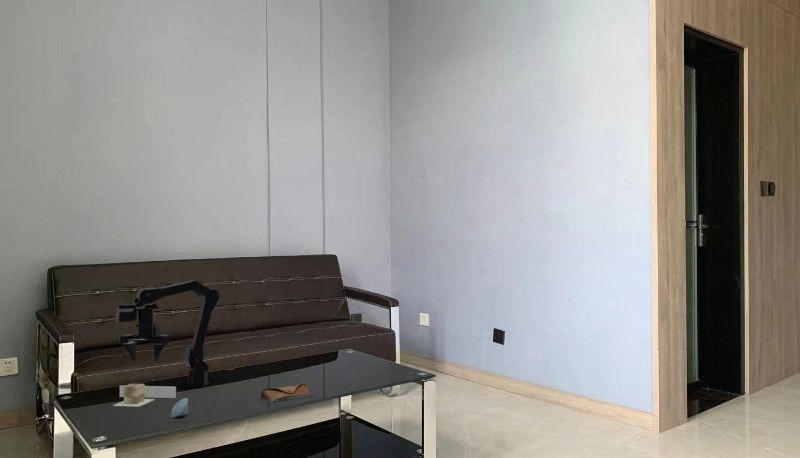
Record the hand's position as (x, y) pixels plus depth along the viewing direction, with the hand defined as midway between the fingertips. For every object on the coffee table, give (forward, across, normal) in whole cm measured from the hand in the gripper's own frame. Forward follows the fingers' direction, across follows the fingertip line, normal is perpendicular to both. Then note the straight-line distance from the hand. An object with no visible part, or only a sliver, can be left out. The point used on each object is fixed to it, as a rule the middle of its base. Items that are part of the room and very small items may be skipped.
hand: (145, 361), depth 240 cm
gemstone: (+12, -30, +31) cm, 45 cm away
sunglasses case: (+13, -58, +2) cm, 59 cm away
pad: (+12, -5, +16) cm, 21 cm away
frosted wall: (+12, -5, +7) cm, 15 cm away
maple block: (+12, -5, +16) cm, 20 cm away
